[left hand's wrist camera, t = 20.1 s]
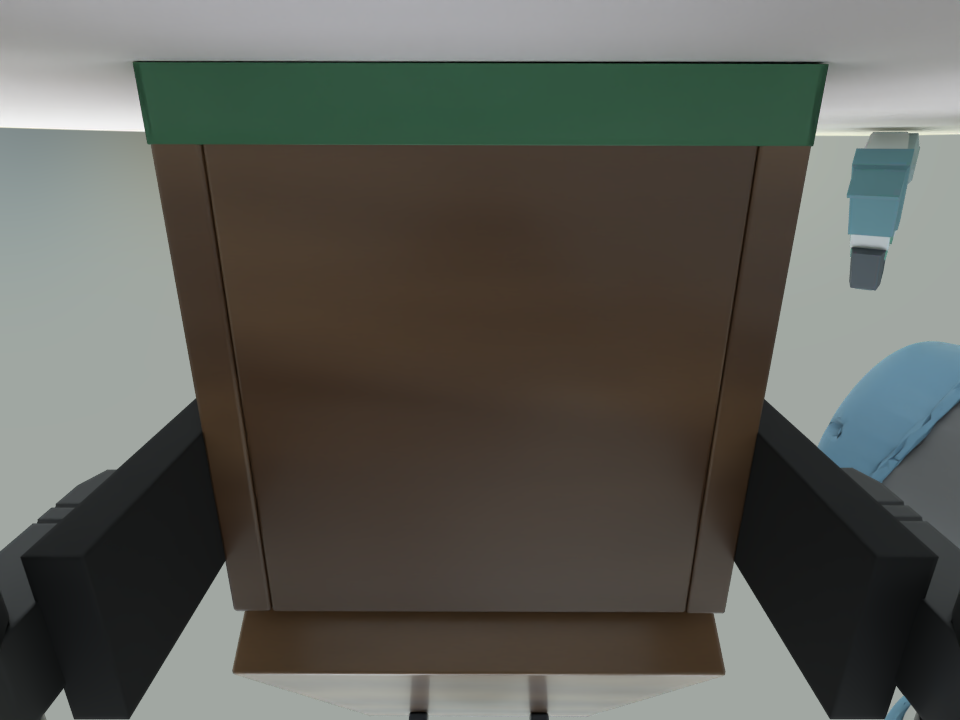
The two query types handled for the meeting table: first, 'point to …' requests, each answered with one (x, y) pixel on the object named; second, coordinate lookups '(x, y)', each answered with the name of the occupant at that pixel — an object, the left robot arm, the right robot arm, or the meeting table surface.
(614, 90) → the chest
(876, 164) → the toy gun
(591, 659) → the lid
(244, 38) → the meeting table surface
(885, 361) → the right robot arm
